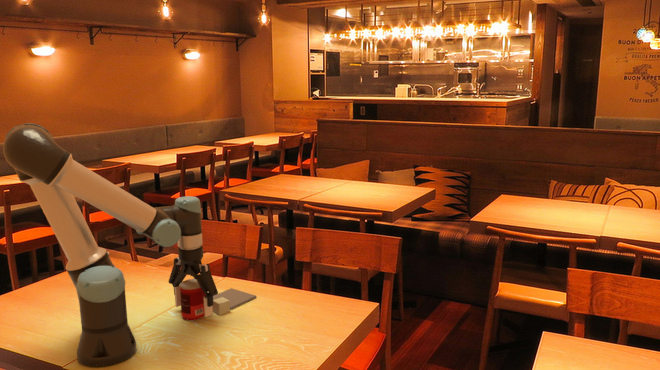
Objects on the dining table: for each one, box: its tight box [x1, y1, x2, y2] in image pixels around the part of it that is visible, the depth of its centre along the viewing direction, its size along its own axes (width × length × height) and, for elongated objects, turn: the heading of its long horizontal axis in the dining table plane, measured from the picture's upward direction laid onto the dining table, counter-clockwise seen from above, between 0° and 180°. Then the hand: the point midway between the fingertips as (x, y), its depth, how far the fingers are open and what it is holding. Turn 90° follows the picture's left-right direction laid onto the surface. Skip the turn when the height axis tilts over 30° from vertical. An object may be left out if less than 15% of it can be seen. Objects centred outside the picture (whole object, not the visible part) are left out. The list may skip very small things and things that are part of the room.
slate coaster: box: [213, 287, 257, 310], centre depth 190 cm, size 12×12×1 cm
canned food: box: [180, 278, 205, 321], centre depth 176 cm, size 8×8×11 cm
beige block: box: [212, 297, 231, 316], centre depth 180 cm, size 4×4×4 cm
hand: (193, 310), depth 177 cm, fingers open, 13 cm apart
